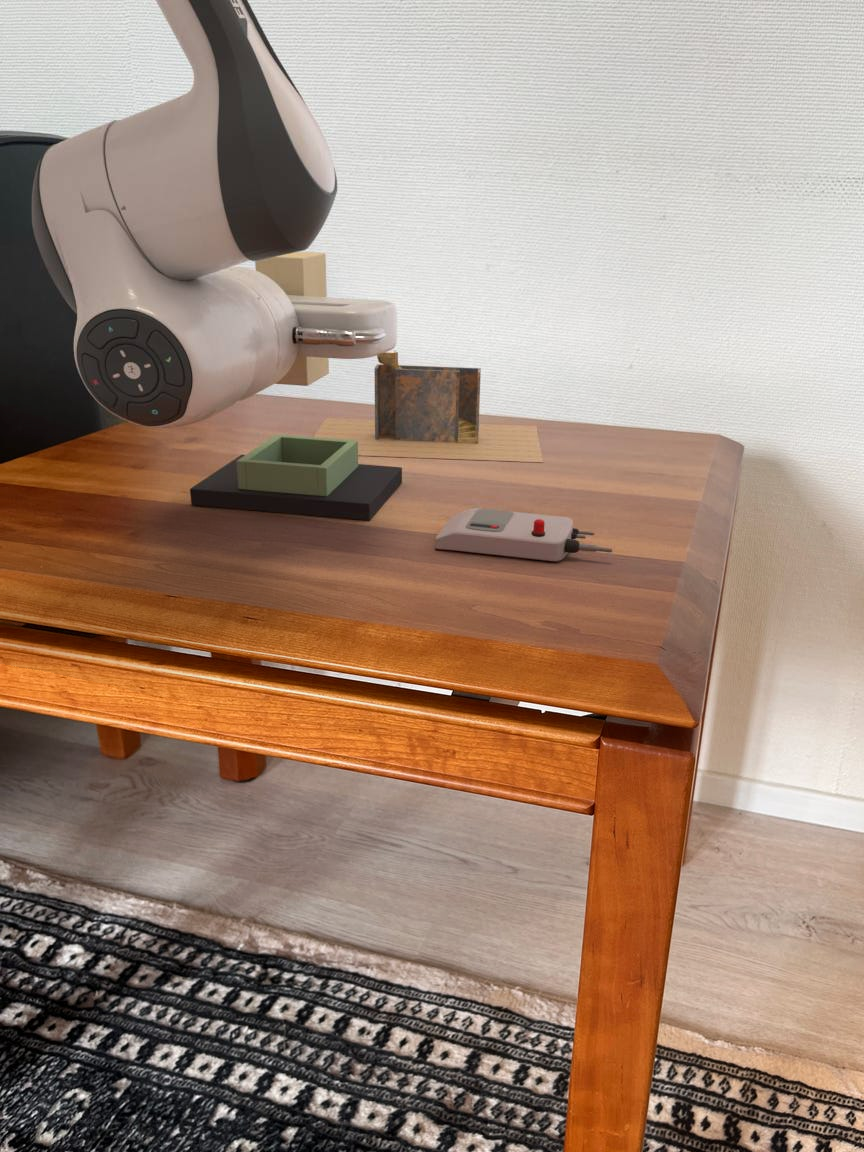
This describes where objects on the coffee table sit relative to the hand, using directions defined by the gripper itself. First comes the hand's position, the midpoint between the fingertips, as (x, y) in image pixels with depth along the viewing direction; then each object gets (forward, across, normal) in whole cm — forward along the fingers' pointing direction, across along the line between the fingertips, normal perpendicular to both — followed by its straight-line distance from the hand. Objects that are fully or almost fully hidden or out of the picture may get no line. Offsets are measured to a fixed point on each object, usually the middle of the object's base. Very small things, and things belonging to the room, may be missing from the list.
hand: (296, 310), depth 86 cm
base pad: (0, 0, +16) cm, 16 cm away
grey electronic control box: (-8, -21, +16) cm, 28 cm away
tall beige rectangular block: (-1, 0, +6) cm, 6 cm away
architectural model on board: (+24, -6, +16) cm, 29 cm away
